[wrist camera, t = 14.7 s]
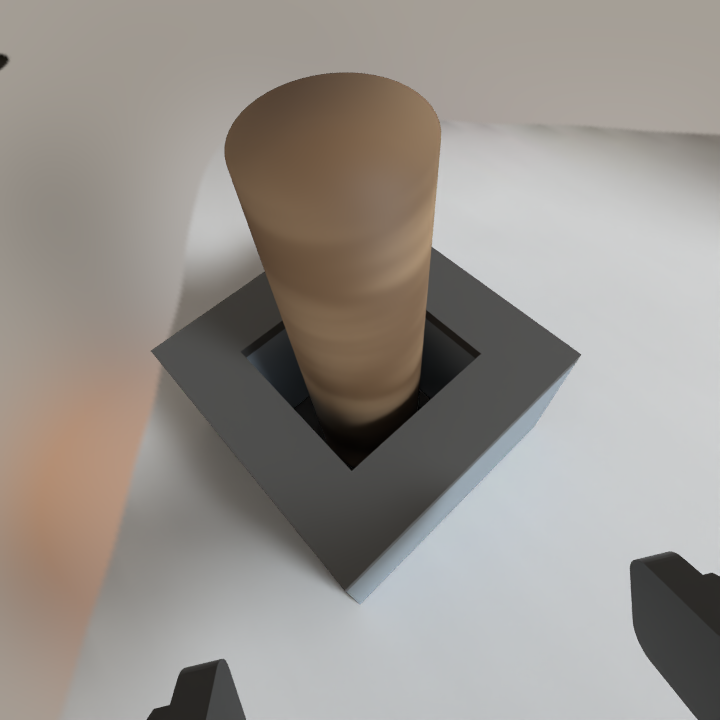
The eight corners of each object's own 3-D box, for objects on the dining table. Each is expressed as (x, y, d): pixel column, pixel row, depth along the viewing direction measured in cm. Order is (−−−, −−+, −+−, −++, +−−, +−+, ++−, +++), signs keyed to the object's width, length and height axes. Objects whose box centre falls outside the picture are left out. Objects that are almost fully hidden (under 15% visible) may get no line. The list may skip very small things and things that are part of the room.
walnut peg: (371, 367, 22) (341, 50, 10) (435, 425, 21) (487, 129, 9) (305, 423, 21) (183, 139, 9) (366, 489, 20) (317, 251, 8)
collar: (373, 292, 25) (367, 200, 19) (534, 426, 21) (581, 354, 15) (209, 419, 22) (150, 350, 16) (360, 604, 18) (344, 590, 12)
